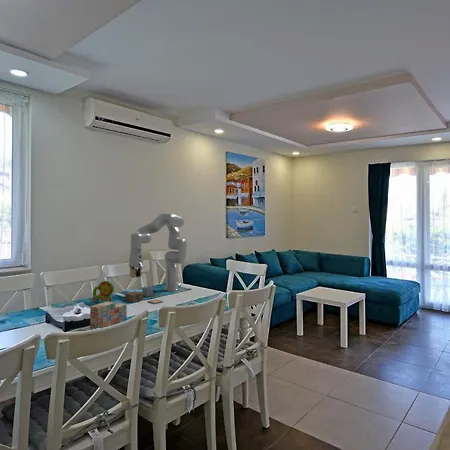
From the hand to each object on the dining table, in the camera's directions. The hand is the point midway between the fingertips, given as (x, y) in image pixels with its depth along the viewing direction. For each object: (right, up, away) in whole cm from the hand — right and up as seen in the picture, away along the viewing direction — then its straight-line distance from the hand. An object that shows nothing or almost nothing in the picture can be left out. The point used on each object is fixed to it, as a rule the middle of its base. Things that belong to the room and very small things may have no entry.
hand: (135, 275), depth 258 cm
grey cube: (+5, -17, +16) cm, 24 cm away
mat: (+15, -18, -3) cm, 24 cm away
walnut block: (-1, -18, +1) cm, 18 cm away
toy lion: (-21, -18, -6) cm, 28 cm away
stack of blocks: (-2, -20, -53) cm, 57 cm away
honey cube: (0, -1, 0) cm, 1 cm away
